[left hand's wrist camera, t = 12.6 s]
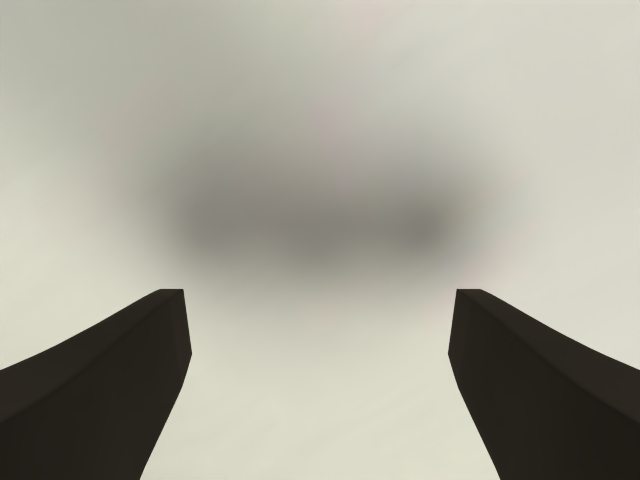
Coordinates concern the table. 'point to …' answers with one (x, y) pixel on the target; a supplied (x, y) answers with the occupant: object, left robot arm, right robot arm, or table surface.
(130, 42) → the table surface
